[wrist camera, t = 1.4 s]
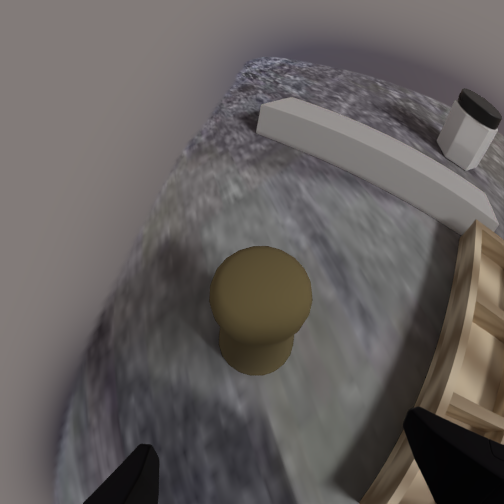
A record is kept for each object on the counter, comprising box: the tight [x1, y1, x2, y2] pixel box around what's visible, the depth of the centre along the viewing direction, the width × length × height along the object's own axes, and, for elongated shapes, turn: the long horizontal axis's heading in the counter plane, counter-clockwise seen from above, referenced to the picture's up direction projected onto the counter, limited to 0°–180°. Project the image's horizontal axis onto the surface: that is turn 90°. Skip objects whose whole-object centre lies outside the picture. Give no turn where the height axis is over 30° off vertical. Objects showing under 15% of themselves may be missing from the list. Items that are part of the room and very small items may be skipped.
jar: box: [437, 89, 502, 171], centre depth 33 cm, size 9×8×12 cm
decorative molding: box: [256, 97, 499, 236], centre depth 34 cm, size 34×5×10 cm
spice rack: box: [359, 219, 504, 504], centre depth 18 cm, size 31×11×4 cm, turn 146°
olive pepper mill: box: [209, 246, 312, 375], centre depth 18 cm, size 6×6×11 cm
